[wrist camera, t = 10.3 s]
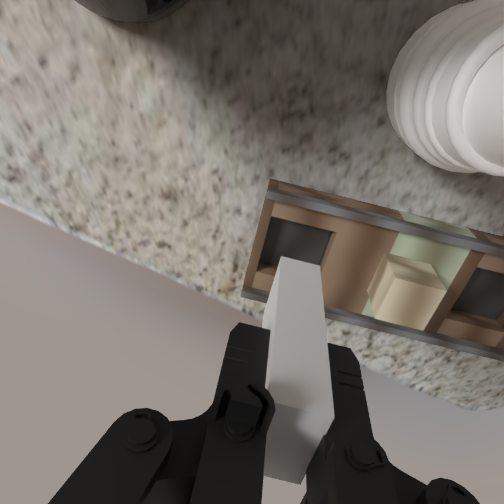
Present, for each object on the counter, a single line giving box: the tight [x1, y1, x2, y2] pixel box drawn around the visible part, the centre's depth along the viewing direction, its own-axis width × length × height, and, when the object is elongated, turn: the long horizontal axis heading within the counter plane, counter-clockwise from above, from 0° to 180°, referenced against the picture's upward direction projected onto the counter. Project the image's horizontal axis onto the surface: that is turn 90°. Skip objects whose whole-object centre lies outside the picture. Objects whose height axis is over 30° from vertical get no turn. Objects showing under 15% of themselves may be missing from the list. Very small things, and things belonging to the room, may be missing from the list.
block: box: [367, 253, 447, 331], centre depth 39 cm, size 5×5×5 cm
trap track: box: [241, 179, 504, 361], centre depth 42 cm, size 31×13×4 cm, turn 77°
